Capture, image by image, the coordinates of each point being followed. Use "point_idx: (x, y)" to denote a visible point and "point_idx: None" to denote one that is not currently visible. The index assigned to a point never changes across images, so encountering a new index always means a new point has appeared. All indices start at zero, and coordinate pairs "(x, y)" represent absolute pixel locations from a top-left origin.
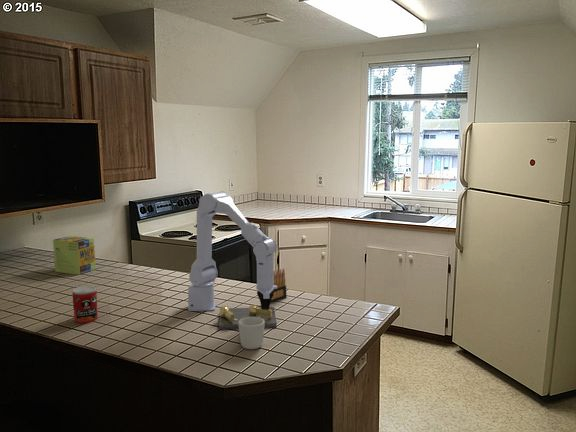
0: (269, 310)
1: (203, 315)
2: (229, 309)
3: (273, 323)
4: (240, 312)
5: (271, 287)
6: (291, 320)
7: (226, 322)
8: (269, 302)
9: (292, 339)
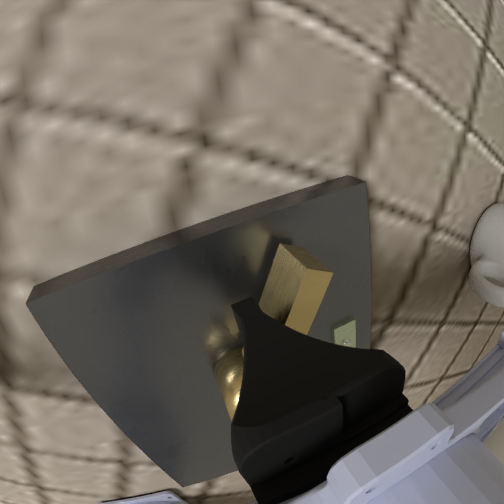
0: (324, 284)
1: (226, 487)
2: (182, 469)
3: (366, 202)
4: (210, 430)
5: (475, 440)
6: (202, 87)
7: None
8: (306, 338)
9: (458, 81)
